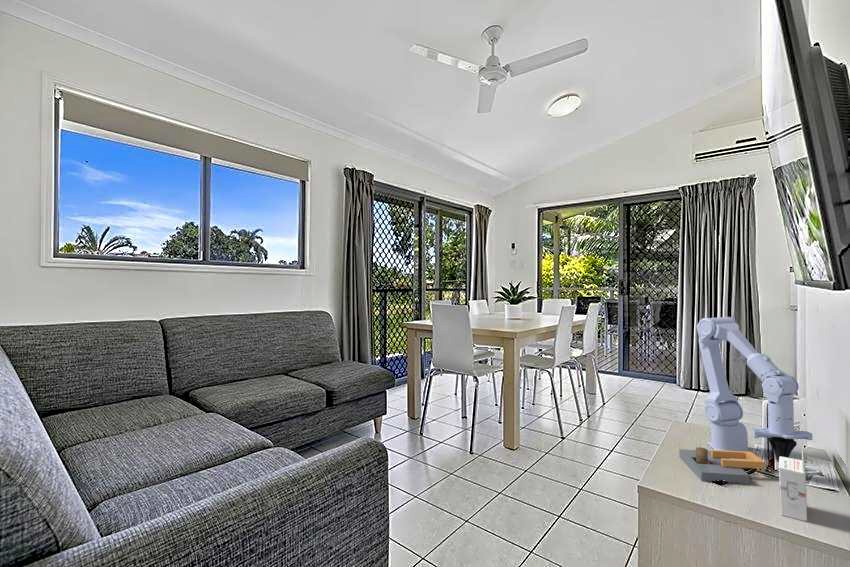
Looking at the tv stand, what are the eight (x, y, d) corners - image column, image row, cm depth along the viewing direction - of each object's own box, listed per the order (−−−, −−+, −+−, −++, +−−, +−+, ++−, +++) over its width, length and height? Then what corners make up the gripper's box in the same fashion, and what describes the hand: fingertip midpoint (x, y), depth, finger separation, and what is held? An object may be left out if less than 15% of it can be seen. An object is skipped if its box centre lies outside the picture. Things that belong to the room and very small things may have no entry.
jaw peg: (695, 466, 127) (694, 446, 127) (706, 467, 125) (706, 448, 125) (697, 470, 124) (696, 450, 124) (709, 472, 123) (708, 452, 123)
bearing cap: (751, 458, 125) (750, 451, 125) (765, 469, 118) (765, 462, 118) (711, 456, 127) (711, 449, 127) (722, 466, 120) (722, 459, 120)
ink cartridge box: (779, 500, 107) (778, 443, 106) (805, 506, 103) (804, 448, 103) (779, 515, 100) (778, 455, 100) (807, 522, 97) (806, 460, 97)
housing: (721, 459, 131) (720, 451, 131) (749, 484, 115) (749, 475, 115) (679, 457, 133) (679, 449, 133) (701, 480, 118) (701, 472, 118)
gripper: (760, 420, 118) (761, 467, 118) (819, 422, 115) (821, 470, 115) (746, 412, 125) (747, 456, 125) (802, 413, 122) (803, 459, 122)
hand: (781, 462), depth 120 cm, fingers closed
